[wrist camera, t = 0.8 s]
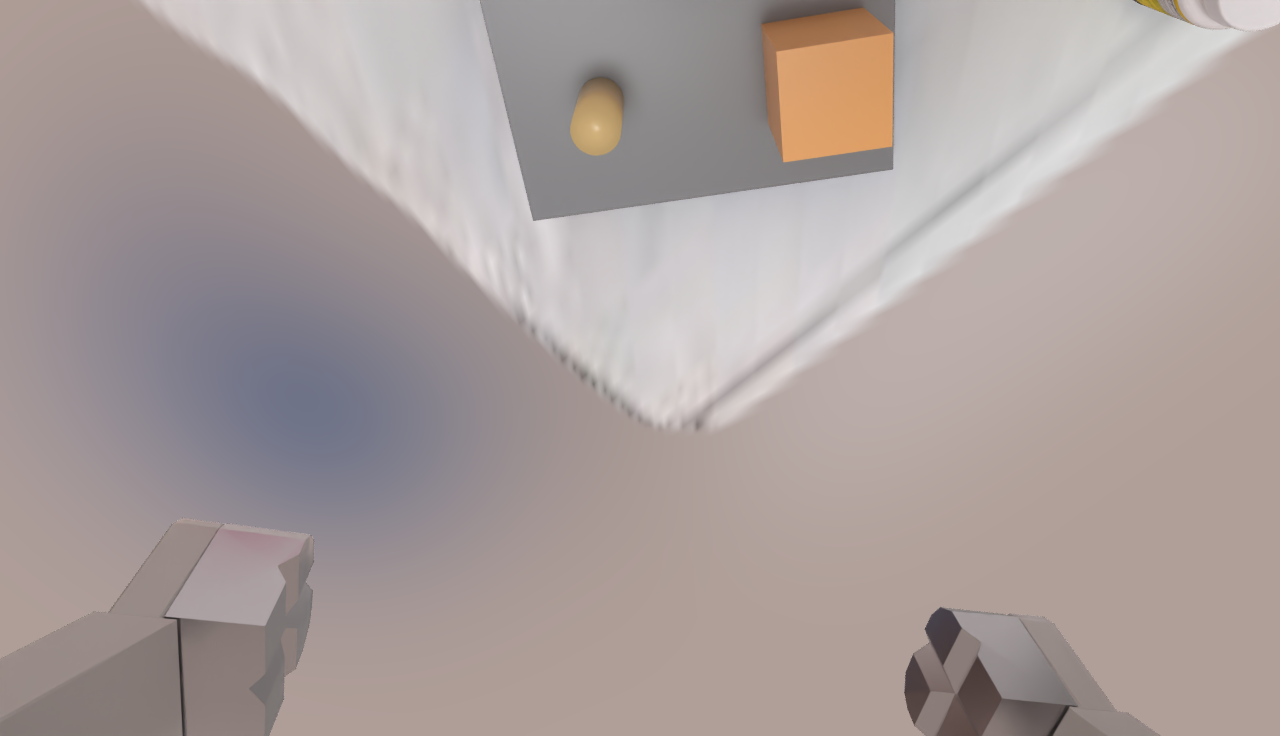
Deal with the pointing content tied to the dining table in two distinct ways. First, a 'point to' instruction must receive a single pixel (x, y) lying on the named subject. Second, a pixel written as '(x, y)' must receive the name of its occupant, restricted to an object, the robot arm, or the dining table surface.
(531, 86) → the plate
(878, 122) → the tangerine wooden cube
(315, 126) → the dining table surface
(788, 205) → the dining table surface
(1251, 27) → the supplement bottle
